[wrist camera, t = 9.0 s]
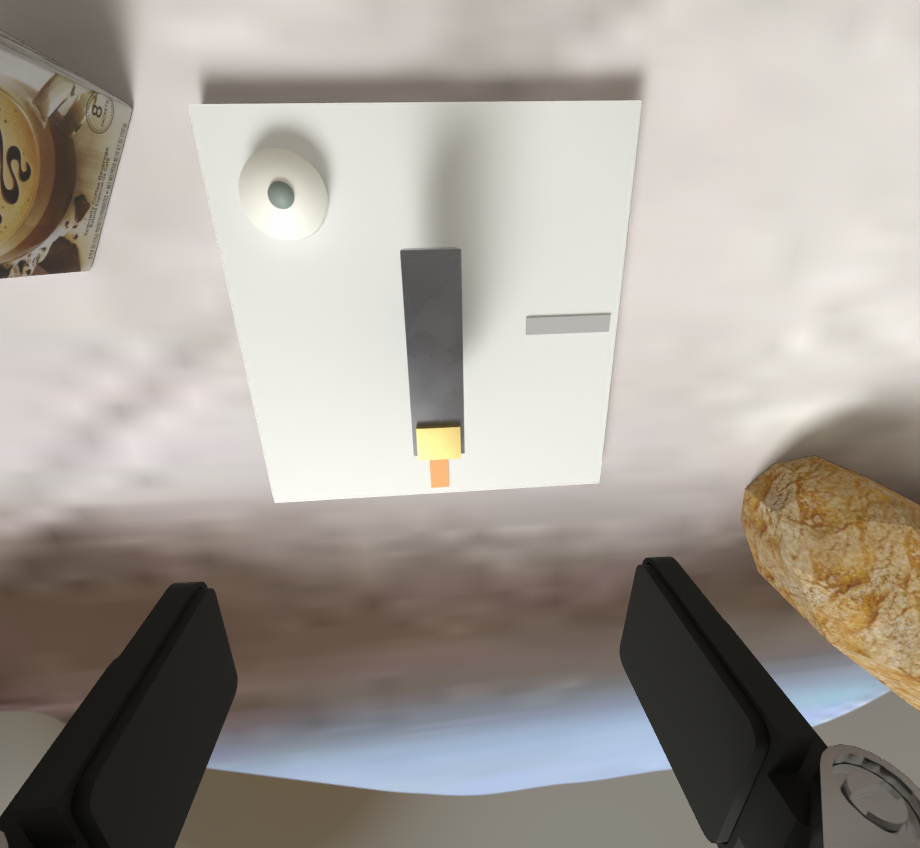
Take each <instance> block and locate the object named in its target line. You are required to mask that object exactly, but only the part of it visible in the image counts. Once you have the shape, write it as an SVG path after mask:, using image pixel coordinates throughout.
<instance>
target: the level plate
mask: <svg viewBox="0 0 920 848" xmlns="http://www.w3.org/2000/svg"><path fill="white" fill-rule="evenodd" d="M641 105H642V100H617V101H502V102H387V103H273V104H187V106H188V111H189V116H190V120H191V125H192V129H193V134H194V138H195V143H196V147H197V152H198V157H199V161H200V166H201V170H202V175H203V179H204V184H205V188H206V193H207V198H208V202H209V207H210V211H211V216H212V220H213V225H214V229H215V234H216V239H217V243H218V248H219V252H220V257H221V261H222V266H223V270H224V275H225V280H226V284H227V289H228V293H229V298H230V302H231V307H232V311H233V316H234V321H235V325H236V330H237V334H238V339H239V343H240V348H241V352H242V357H243V362H244V366H245V371H246V375H247V380H248V384H249V389H250V393H251V398H252V403H253V407H254V412H255V416H256V421H257V425H258V430H259V434H260V439H261V444H262V448H263V453H264V457H265V462H266V466H267V471H268V475H269V480H270V485H271V489H272V494H273V498H274V503H282V502H298V501H315V500H331V499H347V498H364V497H380V496H397V495H413V494H429V493H446V492H462V491H479V490H495V489H511V488H528V487H544V486H561V485H577V484H593V483H599V481H600V472H601V463H602V454H603V445H604V436H605V427H606V418H607V409H608V400H609V391H610V382H611V373H612V365H613V356H614V347H615V338H616V329H617V320H618V311H619V302H620V293H621V284H622V275H623V266H624V257H625V248H626V239H627V230H628V221H629V212H630V203H631V194H632V185H633V176H634V167H635V158H636V150H637V141H638V132H639V123H640V114H641ZM435 247H456V248H460V249H461V268H462V326H463V383H464V440H465V453H464V454H461V458H460V459H441V460H422V461H418V456H414V452H413V437H412V422H411V407H410V392H409V377H408V362H407V348H406V333H405V318H404V303H403V288H402V273H401V259H400V250H402V249H404V248H435Z"/></svg>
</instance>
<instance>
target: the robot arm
mask: <svg viewBox="0 0 920 848" xmlns="http://www.w3.org/2000/svg"><path fill="white" fill-rule="evenodd" d="M620 658H621V662H622V665H623V667H624V669H625V671H626V673H627V676H628V678H629V680H630V682H631V684H632V686H633V688H634V690H635V692H636V694H637V696H638V698H639V700H640V703H641V705H642V707H643V709H644V711H645V713H646V715H647V717H648V719H649V721H650V723H651V725H652V727H653V730H654V732H655V734H656V736H657V738H658V740H659V742H660V744H661V746H662V748H663V750H664V752H665V754H666V757H667V759H668V761H669V763H670V765H671V767H672V769H673V771H674V773H675V775H676V777H677V779H678V781H679V784H680V786H681V788H682V790H683V792H684V794H685V796H686V798H687V800H688V802H689V804H690V806H691V808H692V811H693V813H694V814H695V817H696V819H697V821H698V823H699V825H700V827H701V829H702V831H703V833H704V835H705V836H706V838H707V839H708V840H709V841H710V842H711V843H716V844H717V846H718V848H920V788H919V787H917V786H916V784H915V783H914V782H913V781H912V780H911V779H910V778H909V777H908V776H906V775H905V774H904V773H902V772H901V771H900V770H899V769H897V768H896V767H895V766H893V765H892V764H891V763H889V762H888V761H886V760H884V759H882V758H881V757H879V756H877V755H875V754H873V753H872V752H869V751H866V750H864V749H861V748H858V747H856V746H849V745H843V744H839V745H834V746H829V747H827V746H826V744H825V743H824V742H823V741H822V739H821V738H820V737H819V736H818V734H817V733H816V732H815V731H814V729H813V728H812V727H811V726H810V725H809V723H808V722H807V721H806V720H805V718H804V717H803V716H802V715H801V713H800V712H799V711H798V710H797V708H796V707H795V706H794V705H793V703H792V702H791V701H790V700H789V698H788V697H787V696H786V695H785V694H784V692H783V691H782V690H781V689H780V687H779V686H778V685H777V684H776V682H775V681H774V680H773V679H772V677H771V676H770V675H769V674H768V672H767V671H766V670H765V669H764V668H763V666H762V665H761V664H760V663H759V661H758V660H757V659H756V658H755V656H754V655H753V654H752V653H751V651H750V650H749V649H748V648H747V646H746V645H745V644H744V643H743V641H742V640H741V639H740V638H739V637H738V635H737V634H736V633H735V632H734V630H733V629H732V628H731V627H730V625H729V624H728V623H727V622H726V621H725V620H724V619H723V618H722V617H721V615H720V614H719V613H718V612H717V611H716V609H715V608H714V607H713V606H712V604H711V603H710V602H709V601H708V599H707V598H706V597H705V596H704V594H703V593H702V592H701V591H700V589H699V588H698V587H697V586H696V584H695V583H694V582H693V581H692V579H691V578H690V577H689V576H688V574H687V573H686V572H685V571H684V569H683V568H682V567H681V566H680V565H679V563H678V562H677V561H676V560H675V559H674V558H673V557H652V558H645V559H644V561H643V563H642V565H638V566H637V568H636V571H635V576H634V581H633V586H632V591H631V596H630V601H629V606H628V610H627V615H626V620H625V625H624V630H623V635H622V640H621V644H620ZM236 689H237V673H236V669H235V665H234V661H233V658H232V654H231V650H230V646H229V642H228V638H227V635H226V631H225V627H224V623H223V619H222V616H221V612H220V608H219V604H218V600H217V597H216V593H215V590H214V589H212V588H209V589H208V588H207V585H206V584H205V583H204V582H187V583H174V584H172V585H170V586H169V588H168V589H167V590H166V591H165V593H164V594H163V596H162V597H161V598H160V600H159V601H158V603H157V604H156V605H155V607H154V608H153V610H152V611H151V613H150V614H149V615H148V617H147V618H146V620H145V621H144V622H143V624H142V625H141V627H140V628H139V629H138V631H137V632H136V634H135V635H134V636H133V638H132V639H131V641H130V642H129V644H128V645H127V646H126V648H125V649H124V651H123V652H122V653H121V655H120V656H119V657H117V658H116V659H115V660H114V661H113V662H112V663H111V664H110V665H109V666H108V668H107V669H106V670H105V672H104V673H103V674H102V676H101V677H100V679H99V680H98V681H97V683H96V684H95V686H94V687H93V688H92V690H91V691H90V693H89V694H88V695H87V697H86V698H85V699H84V701H83V702H82V704H81V705H80V706H79V708H78V709H77V711H76V712H75V713H74V715H73V716H72V718H71V719H70V720H69V722H68V723H67V725H66V726H65V727H64V729H63V730H62V731H61V733H60V734H59V736H58V737H57V739H56V740H55V741H54V743H53V744H52V745H51V747H50V748H49V750H48V751H47V752H46V754H45V755H44V757H43V758H42V760H41V761H40V762H39V764H38V765H37V766H36V768H35V769H34V771H33V772H32V773H31V775H30V776H29V777H28V779H27V780H26V782H25V783H24V785H23V786H22V787H21V789H20V790H19V792H18V793H17V794H16V795H15V797H14V798H13V800H12V801H11V802H10V804H9V805H8V807H7V808H6V810H5V811H4V812H3V814H2V815H1V816H0V848H174V847H175V845H176V842H177V840H178V837H179V835H180V832H181V829H182V827H183V825H184V822H185V819H186V817H187V814H188V812H189V809H190V807H191V804H192V802H193V799H194V797H195V794H196V792H197V789H198V787H199V784H200V782H201V779H202V777H203V774H204V771H205V769H206V767H207V764H208V762H209V759H210V757H211V754H212V752H213V749H214V747H215V744H216V741H217V739H218V736H219V734H220V731H221V729H222V726H223V724H224V721H225V719H226V716H227V714H228V711H229V709H230V706H231V704H232V701H233V699H234V696H235V693H236Z"/></svg>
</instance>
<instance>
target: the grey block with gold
mask: <svg viewBox="0 0 920 848" xmlns="http://www.w3.org/2000/svg"><path fill="white" fill-rule="evenodd" d="M400 259H401V273H402V288H403V303H404V318H405V333H406V348H407V362H408V377H409V392H410V407H411V422H412V437H413V452H414V456H418V461H422V460H441V459H460V458H461V454H464V453H465V440H464V383H463V326H462V268H461V249H460V248H456V247H435V248H404V249H402V250H400Z"/></svg>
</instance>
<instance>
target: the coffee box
mask: <svg viewBox="0 0 920 848" xmlns="http://www.w3.org/2000/svg"><path fill="white" fill-rule="evenodd" d="M131 114H132V108H131V106H129V105H128V104H127V103H125V102H123V101H122V100H120V99H118V98H117V97H115V96H113V95H111V94H110V93H108V92H106V91H105V90H103V89H101V88H99V87H98V86H96V85H94V84H93V83H91V82H89V81H87V80H86V79H84V78H82V77H81V76H79V75H77V74H75V73H74V72H72V71H70V70H69V69H67V68H65V67H63V66H62V65H60V64H58V63H56V62H55V61H53V60H51V59H50V58H48V57H46V56H44V55H43V54H41V53H39V52H37V51H36V50H34V49H32V48H30V47H29V46H27V45H25V44H24V43H22V42H20V41H18V40H16V39H15V38H13V37H11V36H9V35H8V34H6V33H4V32H2V31H0V278H13V277H25V276H33V275H46V274H57V273H69V272H82V271H89V270H90V269H91V266H92V263H93V259H94V256H95V252H96V248H97V244H98V240H99V236H100V232H101V228H102V224H103V221H104V217H105V213H106V209H107V205H108V202H109V198H110V194H111V190H112V186H113V182H114V179H115V175H116V171H117V167H118V163H119V159H120V156H121V152H122V148H123V144H124V140H125V136H126V133H127V129H128V125H129V121H130V117H131Z"/></svg>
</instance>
